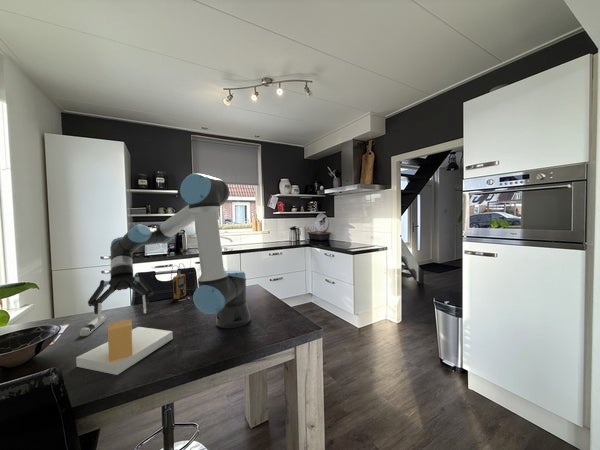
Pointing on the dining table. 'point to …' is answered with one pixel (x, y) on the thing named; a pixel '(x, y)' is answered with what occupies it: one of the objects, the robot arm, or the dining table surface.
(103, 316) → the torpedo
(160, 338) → the white base board
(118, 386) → the dining table surface
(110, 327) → the orange upright block
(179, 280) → the multimeter
